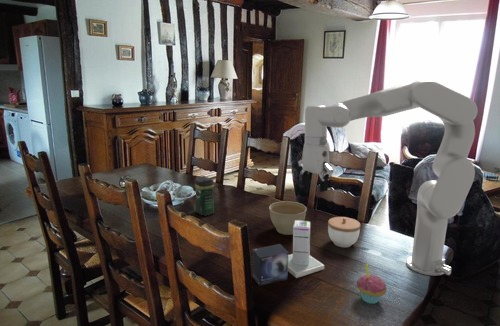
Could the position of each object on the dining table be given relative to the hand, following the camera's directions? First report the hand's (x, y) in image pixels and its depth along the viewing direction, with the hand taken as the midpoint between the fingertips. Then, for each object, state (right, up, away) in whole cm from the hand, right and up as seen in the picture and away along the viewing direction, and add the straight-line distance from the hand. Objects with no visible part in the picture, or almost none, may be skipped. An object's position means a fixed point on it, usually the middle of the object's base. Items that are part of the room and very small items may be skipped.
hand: (314, 187), depth 126 cm
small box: (-17, -30, -9) cm, 36 cm away
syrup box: (-5, -26, -1) cm, 27 cm away
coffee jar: (-46, -16, +49) cm, 69 cm away
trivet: (-5, -28, -1) cm, 28 cm away
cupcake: (+13, -33, -20) cm, 40 cm away
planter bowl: (-7, -21, +28) cm, 36 cm away
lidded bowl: (+15, -24, +17) cm, 33 cm away
